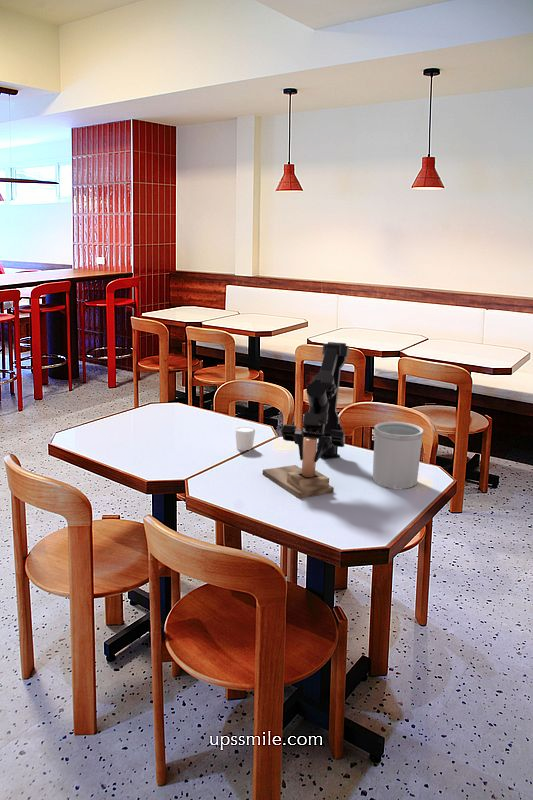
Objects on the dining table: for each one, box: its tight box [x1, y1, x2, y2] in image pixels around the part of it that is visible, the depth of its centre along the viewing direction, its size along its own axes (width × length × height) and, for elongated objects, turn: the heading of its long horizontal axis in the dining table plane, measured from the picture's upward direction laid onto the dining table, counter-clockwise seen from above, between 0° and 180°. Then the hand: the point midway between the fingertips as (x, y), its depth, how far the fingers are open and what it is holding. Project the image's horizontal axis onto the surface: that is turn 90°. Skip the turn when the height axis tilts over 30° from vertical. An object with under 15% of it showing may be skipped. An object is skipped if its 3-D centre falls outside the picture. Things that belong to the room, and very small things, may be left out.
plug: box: [301, 437, 318, 477], centre depth 200 cm, size 4×4×11 cm
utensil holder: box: [372, 421, 425, 490], centre depth 210 cm, size 15×15×18 cm
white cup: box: [235, 426, 256, 452], centre depth 239 cm, size 7×7×7 cm
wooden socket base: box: [262, 464, 335, 499], centre depth 207 cm, size 12×22×4 cm, turn 29°
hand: (308, 460), depth 199 cm, fingers closed on plug, 4 cm apart
